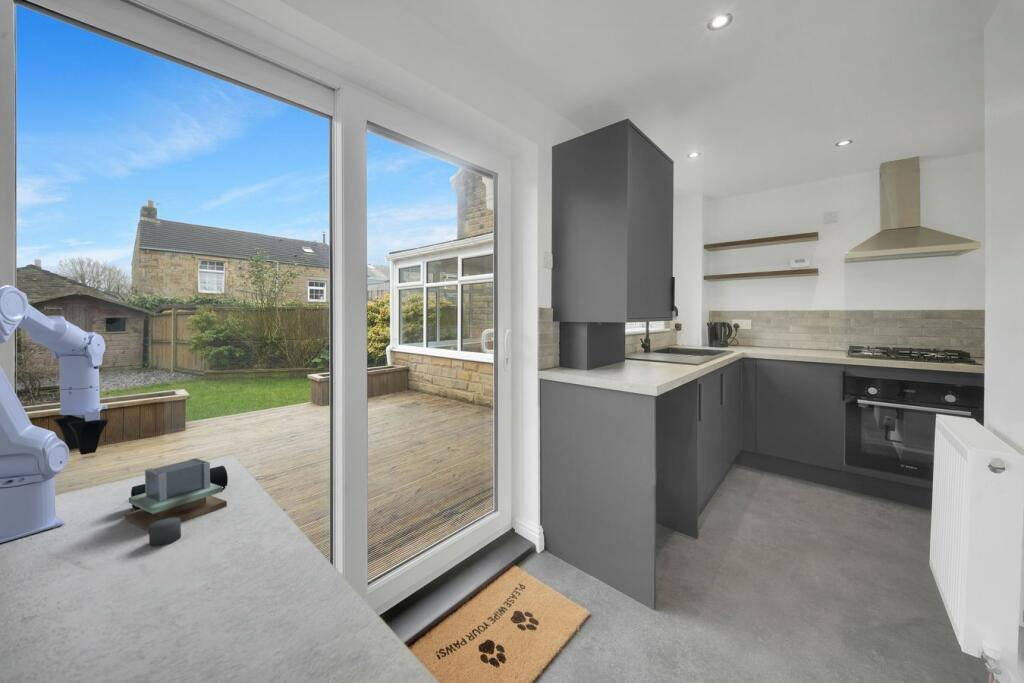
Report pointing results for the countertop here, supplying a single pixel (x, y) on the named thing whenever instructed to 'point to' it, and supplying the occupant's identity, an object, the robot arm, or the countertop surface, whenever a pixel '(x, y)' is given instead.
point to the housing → (177, 479)
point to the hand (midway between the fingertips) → (81, 450)
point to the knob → (164, 532)
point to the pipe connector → (216, 477)
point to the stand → (174, 506)
